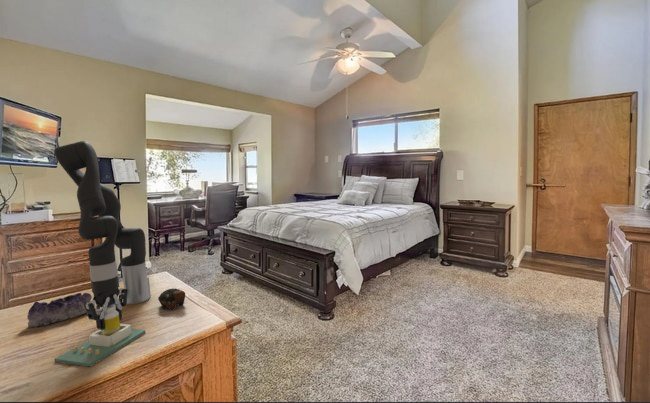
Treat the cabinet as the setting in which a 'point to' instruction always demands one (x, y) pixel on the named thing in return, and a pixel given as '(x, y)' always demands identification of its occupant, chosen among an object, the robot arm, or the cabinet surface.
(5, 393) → the cabinet surface
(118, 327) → the supplement bottle
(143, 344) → the cabinet surface
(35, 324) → the geode
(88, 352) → the header board
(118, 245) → the robot arm
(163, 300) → the decorative turtle
